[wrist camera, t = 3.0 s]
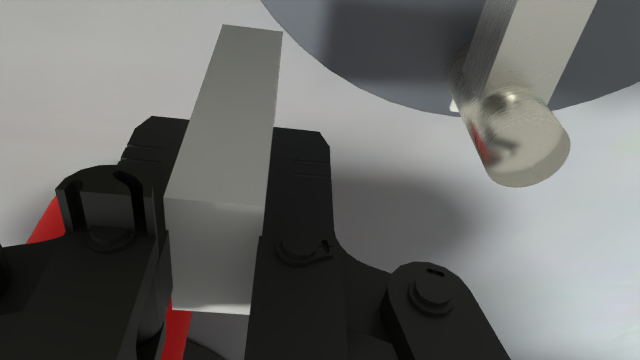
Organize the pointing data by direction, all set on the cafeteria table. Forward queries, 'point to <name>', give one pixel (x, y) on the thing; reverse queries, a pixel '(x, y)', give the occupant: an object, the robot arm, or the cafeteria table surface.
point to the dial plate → (448, 47)
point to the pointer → (517, 85)
